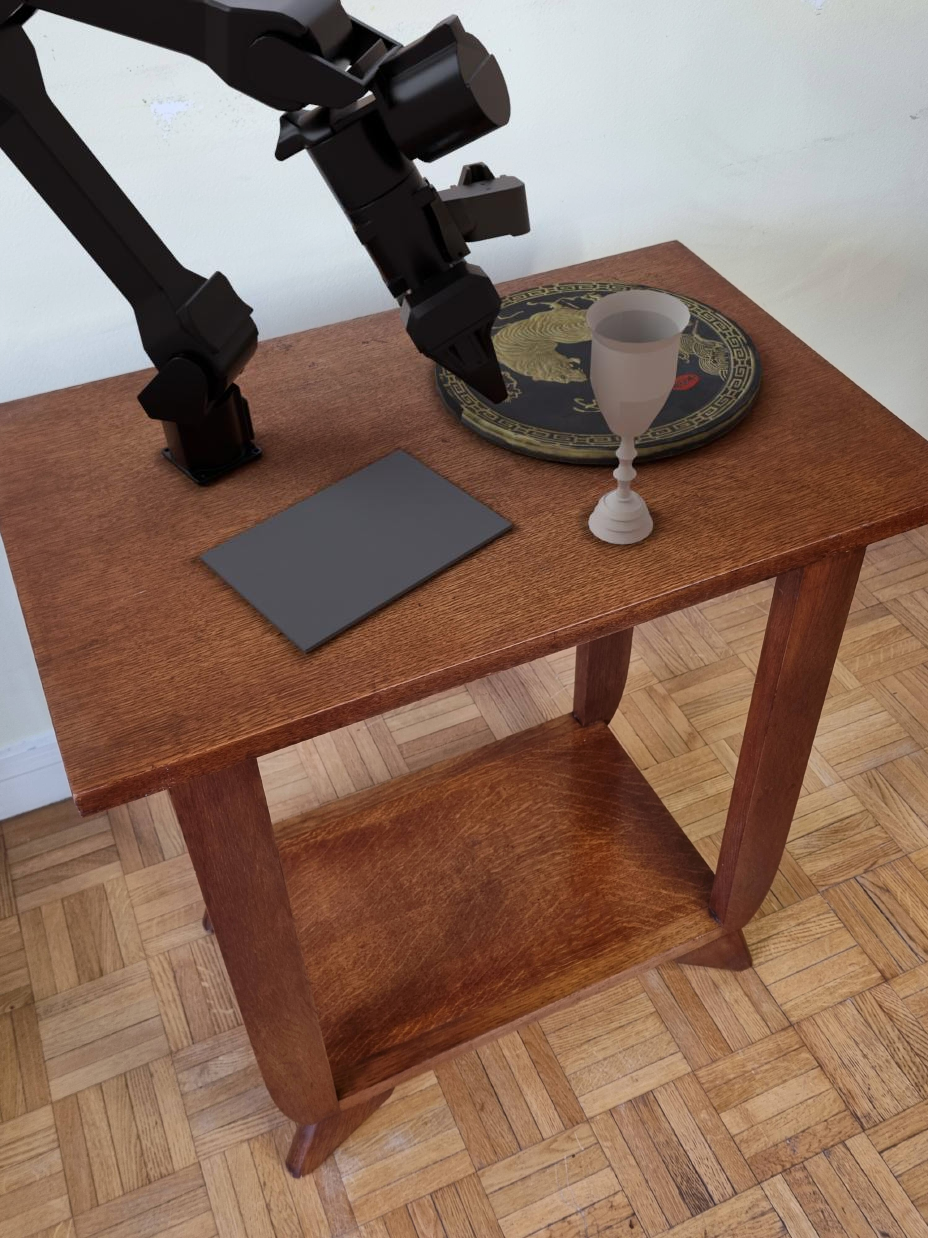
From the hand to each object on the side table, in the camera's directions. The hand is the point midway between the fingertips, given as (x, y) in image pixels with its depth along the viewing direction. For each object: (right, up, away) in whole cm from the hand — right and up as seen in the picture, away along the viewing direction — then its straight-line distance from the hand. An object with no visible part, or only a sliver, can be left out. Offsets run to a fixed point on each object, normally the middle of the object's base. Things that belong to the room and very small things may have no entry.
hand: (489, 380), depth 81 cm
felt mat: (-10, -12, +4) cm, 16 cm away
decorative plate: (+10, +5, +21) cm, 24 cm away
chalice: (+10, -10, +5) cm, 16 cm away
